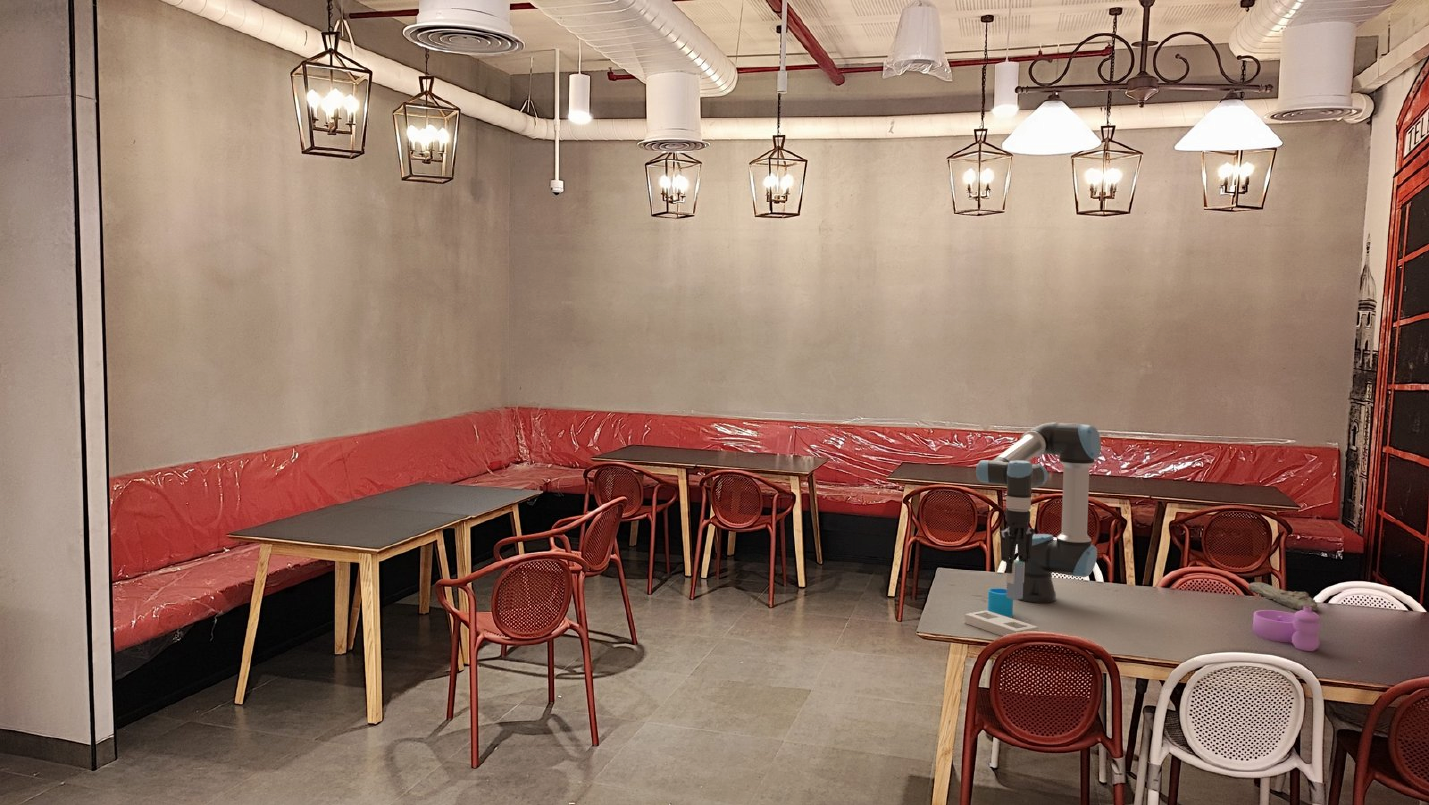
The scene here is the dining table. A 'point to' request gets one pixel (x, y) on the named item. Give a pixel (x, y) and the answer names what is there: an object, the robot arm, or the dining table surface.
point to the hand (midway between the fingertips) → (1015, 582)
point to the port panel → (997, 623)
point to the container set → (1288, 627)
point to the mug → (1000, 602)
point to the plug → (1016, 582)
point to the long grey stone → (1284, 596)
